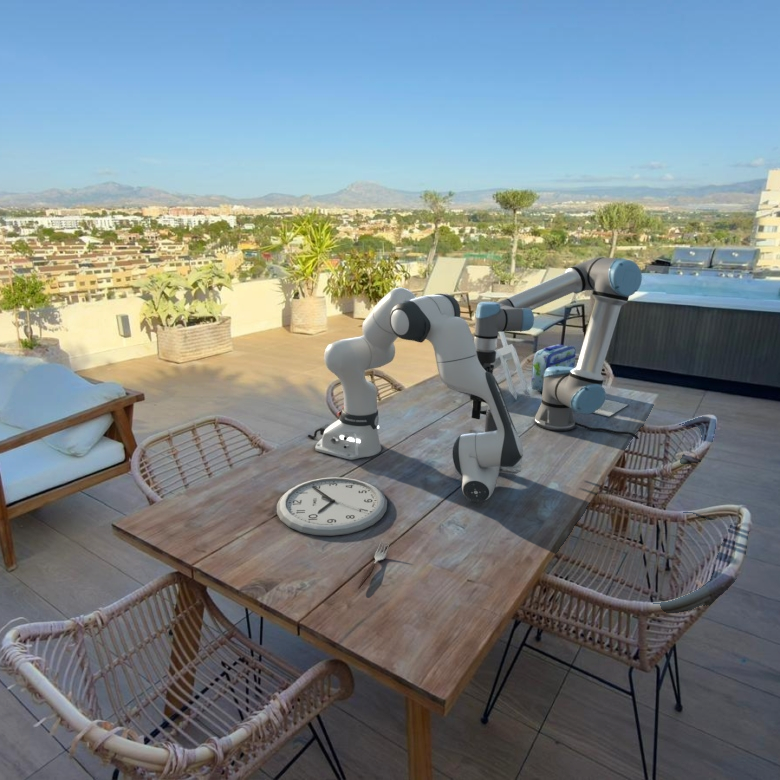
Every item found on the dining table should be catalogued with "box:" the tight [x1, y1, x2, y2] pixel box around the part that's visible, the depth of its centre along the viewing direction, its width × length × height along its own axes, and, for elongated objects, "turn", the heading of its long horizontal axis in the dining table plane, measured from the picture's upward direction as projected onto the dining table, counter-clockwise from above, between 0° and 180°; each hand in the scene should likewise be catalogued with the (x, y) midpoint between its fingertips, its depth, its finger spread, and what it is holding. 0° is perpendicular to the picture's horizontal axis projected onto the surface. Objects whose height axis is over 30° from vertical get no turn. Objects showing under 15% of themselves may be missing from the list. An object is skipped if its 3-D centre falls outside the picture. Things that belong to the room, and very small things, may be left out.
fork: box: [357, 541, 391, 589], centre depth 116 cm, size 3×16×2 cm, turn 160°
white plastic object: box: [491, 331, 531, 400], centre depth 245 cm, size 37×45×31 cm
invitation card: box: [592, 399, 629, 418], centre depth 226 cm, size 21×1×15 cm
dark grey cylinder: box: [484, 408, 497, 432], centre depth 163 cm, size 4×4×19 cm
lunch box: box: [530, 344, 577, 393], centre depth 247 cm, size 26×11×21 cm, turn 134°
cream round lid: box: [471, 402, 488, 411], centre depth 178 cm, size 5×5×2 cm
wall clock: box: [276, 476, 388, 537], centre depth 142 cm, size 30×2×30 cm
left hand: (490, 449), depth 165 cm, fingers closed on dark grey cylinder, 4 cm apart
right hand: (479, 415), depth 179 cm, fingers closed on cream round lid, 5 cm apart
